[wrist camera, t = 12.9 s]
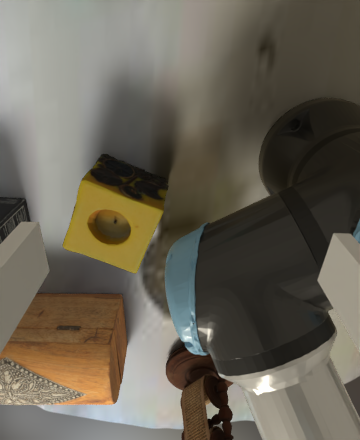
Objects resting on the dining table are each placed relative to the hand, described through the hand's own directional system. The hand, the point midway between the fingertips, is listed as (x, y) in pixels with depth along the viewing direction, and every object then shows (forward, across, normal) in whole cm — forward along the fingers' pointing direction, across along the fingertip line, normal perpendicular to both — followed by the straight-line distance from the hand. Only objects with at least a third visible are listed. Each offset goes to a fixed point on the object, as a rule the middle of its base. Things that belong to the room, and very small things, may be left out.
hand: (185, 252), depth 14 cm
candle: (+29, +8, +11) cm, 32 cm away
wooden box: (+29, +24, +38) cm, 54 cm away
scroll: (+29, -6, +48) cm, 56 cm away
